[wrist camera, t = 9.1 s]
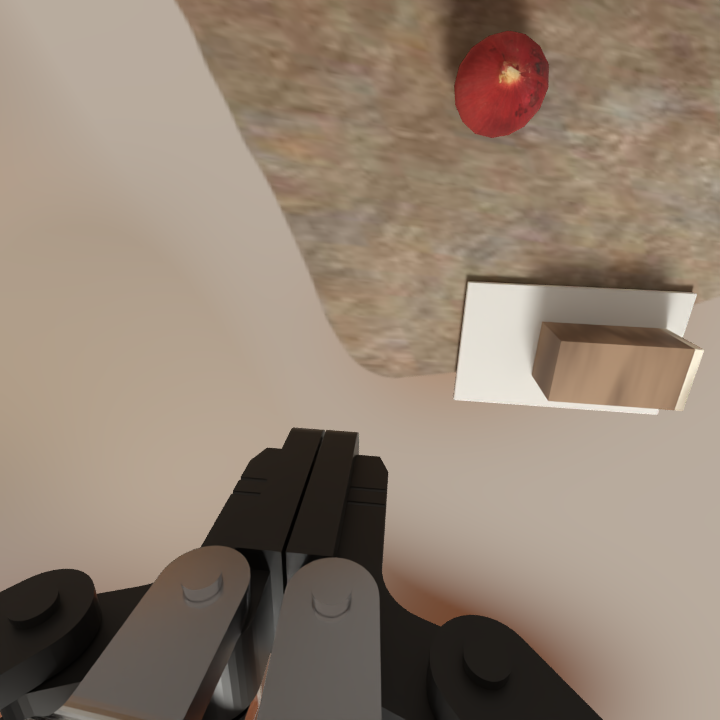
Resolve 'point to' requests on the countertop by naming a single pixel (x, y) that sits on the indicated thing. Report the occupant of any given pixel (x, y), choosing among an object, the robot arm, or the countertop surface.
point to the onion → (501, 84)
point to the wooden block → (615, 365)
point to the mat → (522, 329)
